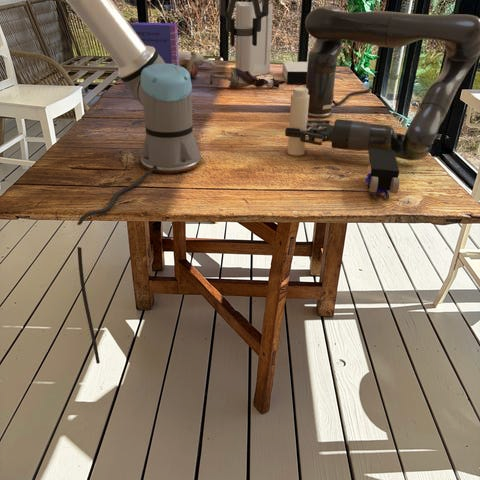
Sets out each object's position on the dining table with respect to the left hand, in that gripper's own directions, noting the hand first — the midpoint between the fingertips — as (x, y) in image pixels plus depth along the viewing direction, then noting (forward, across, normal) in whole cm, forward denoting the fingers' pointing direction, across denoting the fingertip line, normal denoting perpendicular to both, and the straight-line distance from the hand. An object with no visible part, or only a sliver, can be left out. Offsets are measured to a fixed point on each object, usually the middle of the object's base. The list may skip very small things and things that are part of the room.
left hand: (243, 44), depth 129 cm
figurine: (+25, +12, +57) cm, 64 cm away
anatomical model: (+25, -11, +74) cm, 79 cm away
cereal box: (+25, -24, +58) cm, 68 cm away
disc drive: (+26, +40, +72) cm, 86 cm away
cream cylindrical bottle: (+25, +12, -15) cm, 32 cm away
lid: (-4, 0, 0) cm, 4 cm away
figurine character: (+25, +25, -41) cm, 55 cm away
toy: (+25, -10, +99) cm, 103 cm away
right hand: (+19, +10, -14) cm, 26 cm away
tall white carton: (+25, +20, +86) cm, 92 cm away
